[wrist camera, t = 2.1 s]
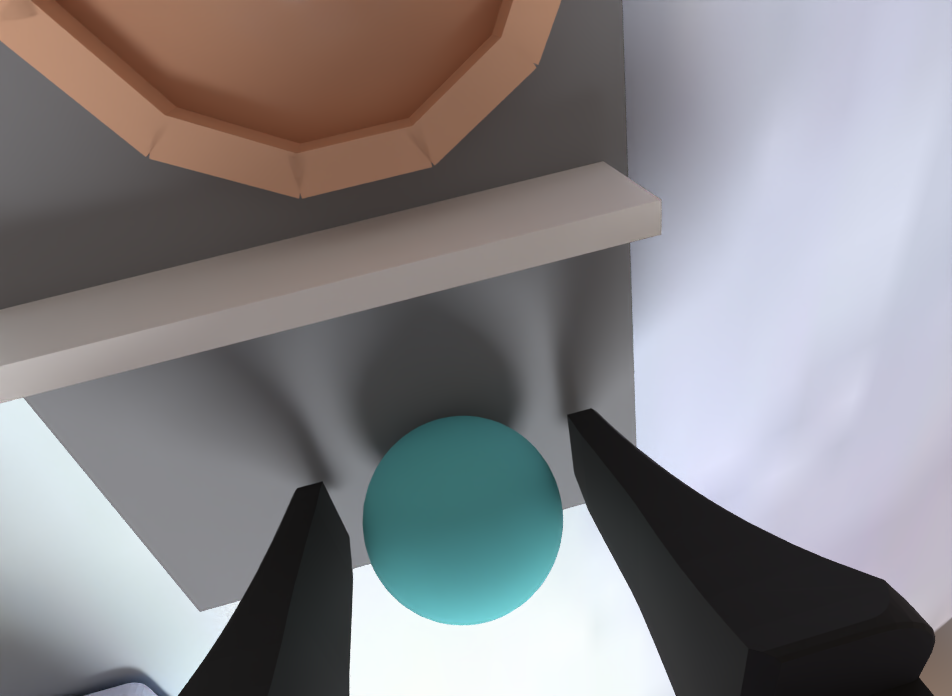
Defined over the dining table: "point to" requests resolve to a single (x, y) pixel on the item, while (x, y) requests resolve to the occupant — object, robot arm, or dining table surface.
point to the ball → (462, 520)
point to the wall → (318, 277)
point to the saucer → (285, 79)
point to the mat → (323, 343)
